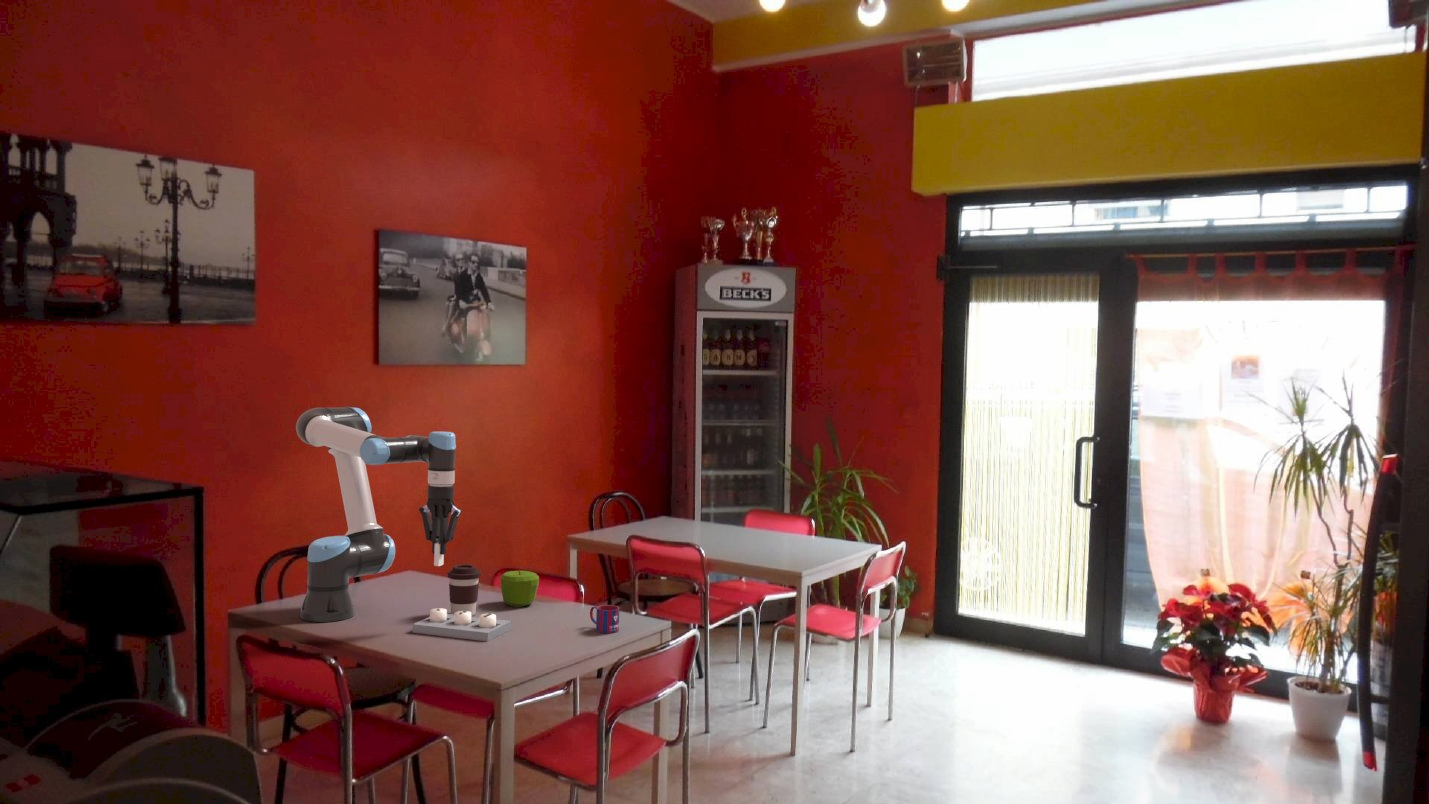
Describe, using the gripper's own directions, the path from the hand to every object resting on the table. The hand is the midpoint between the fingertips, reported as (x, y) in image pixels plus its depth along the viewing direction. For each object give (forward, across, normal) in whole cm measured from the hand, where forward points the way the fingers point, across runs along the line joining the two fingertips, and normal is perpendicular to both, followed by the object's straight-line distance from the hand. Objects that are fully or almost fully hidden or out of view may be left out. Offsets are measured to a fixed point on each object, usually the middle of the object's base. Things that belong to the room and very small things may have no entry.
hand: (438, 565), depth 286 cm
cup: (+19, +45, +17) cm, 52 cm away
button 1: (+18, 0, 0) cm, 18 cm away
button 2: (+18, +8, 0) cm, 20 cm away
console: (+18, +8, 0) cm, 20 cm away
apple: (+19, +9, +34) cm, 40 cm away
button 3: (+18, +16, 0) cm, 24 cm away
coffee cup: (+19, -1, +16) cm, 25 cm away
